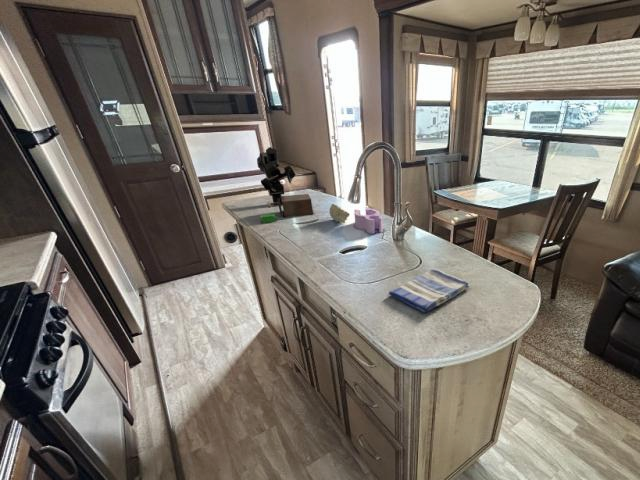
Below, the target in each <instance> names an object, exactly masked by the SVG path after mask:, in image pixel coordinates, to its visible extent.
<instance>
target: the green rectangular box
mask: <svg viewBox="0 0 640 480" xmlns="http://www.w3.org/2000/svg"><path fill="white" fill-rule="evenodd" d="M260 217H261V218H260V219H261V221H262V224H266V223H267V224H268V223H275V222H276V217H275V213H267V214H261V215H260Z"/></svg>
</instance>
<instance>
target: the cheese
mask: <svg viewBox="0 0 640 480" xmlns="http://www.w3.org/2000/svg"><path fill="white" fill-rule="evenodd" d="M329 215H330V217H331V219H333V220H334V221H335V223H340V224H345V223H346V221H347V220H348V217H350V215H351V214H350V212H348V211H346V210H345V209H343V208H341V207H340V206H338V205H337V204H335V203H332V204H331V205H330V207H329Z"/></svg>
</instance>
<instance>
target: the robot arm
mask: <svg viewBox="0 0 640 480" xmlns="http://www.w3.org/2000/svg"><path fill="white" fill-rule="evenodd" d="M258 155H259V156H258V157H257V158H256V164H257V168H258V169H259V170H260V172H262V173H263V174H264V175H265V178H263V179H260V184H261V185H262V187H263V188H264V189H265V190H266V191H267V193H268V196H270V197H271V199H272V203H275V202H278V200H277V198H279V199H280V204H281V206H283V205H282V200H281V196H283V195H284V194H285V186H284V185H283V183H282V182H281V181H282V180H284V179H285V178H287V181H288V183H289V184H290V185H291V184H292V181H293V179H294V178H295V177H296V172H295V170H294V169H293V167H292V166H291V165H287V166H285V167H284V168H283V170H284V172H282V171H281V169H280V163H279V160H280V157H279V156H278V150H277V149H275V148H272V146H269V147H267V148H266V149H265V152H260V153H259V154H258ZM273 205H278V204H272V206H273Z"/></svg>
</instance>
